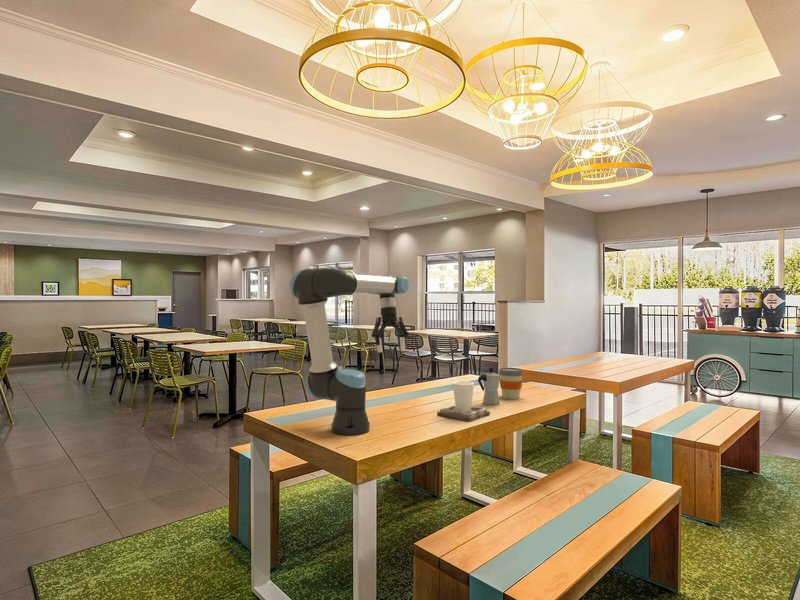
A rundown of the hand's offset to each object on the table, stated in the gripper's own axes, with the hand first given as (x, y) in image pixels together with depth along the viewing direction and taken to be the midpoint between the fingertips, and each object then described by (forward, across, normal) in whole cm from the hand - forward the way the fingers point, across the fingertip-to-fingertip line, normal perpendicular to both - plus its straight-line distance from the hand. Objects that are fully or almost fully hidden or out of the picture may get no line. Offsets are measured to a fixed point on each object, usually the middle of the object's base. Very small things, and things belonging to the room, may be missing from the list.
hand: (391, 351), depth 217 cm
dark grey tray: (+31, -20, +24) cm, 44 cm away
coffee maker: (+30, -47, +15) cm, 58 cm away
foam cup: (+30, -20, +24) cm, 43 cm away
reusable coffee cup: (+29, -69, +11) cm, 75 cm away
